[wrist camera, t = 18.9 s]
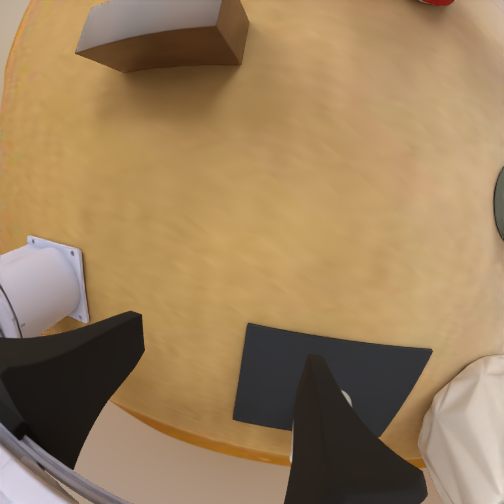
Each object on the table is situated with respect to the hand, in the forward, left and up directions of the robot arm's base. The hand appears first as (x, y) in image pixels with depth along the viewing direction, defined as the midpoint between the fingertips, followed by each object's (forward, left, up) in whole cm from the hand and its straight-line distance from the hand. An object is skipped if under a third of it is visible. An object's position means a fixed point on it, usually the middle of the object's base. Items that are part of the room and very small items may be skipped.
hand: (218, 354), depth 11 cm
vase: (+25, -10, -10) cm, 29 cm away
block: (-8, +17, -9) cm, 21 cm away
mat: (+8, -10, -9) cm, 16 cm away
